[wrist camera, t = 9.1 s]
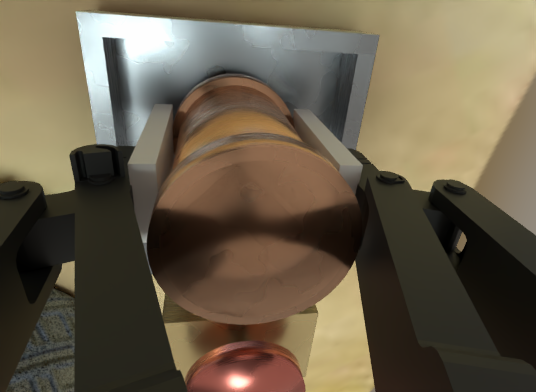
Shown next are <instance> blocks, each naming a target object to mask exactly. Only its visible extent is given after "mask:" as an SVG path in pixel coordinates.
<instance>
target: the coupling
mask: <svg viewBox="0 0 536 392" xmlns="http://www.w3.org/2000/svg"><path fill="white" fill-rule="evenodd" d="M173 147H174V155H175V158H174V163H173V169H172V172H171V173H170V174H169V175H168V177H167V178H166V180H165V181H164V183H163V184H162V186H161V188H160V190H159V192H158V194H157V197H156V200H155V203H154V207H153V211H152V215H151V219H150V223H149V227H148V234H147V256H148V261H149V265H150V268H151V271H152V273H153V276H154V277H155V279H156V281H157V283H158V284H159V286H160V287H161V288H162V290H163V291H164V292H165V293H166V294H167V295H168V296H169V297H170V298H171V299H172V300H173V301H174V302H175V303H177V304H178V305H179V306H181V307H182V308H184V309H185V310H187V311H189V312H191V313H193V314H195V315H197V316H200V317H202V318H205V319H208V320H212V321H216V322H221V323H227V324H238V325H248V324H260V323H267V322H272V321H277V320H280V319H283V318H287V317H290V316H292V315H294V314H297V313H299V312H301V311H303V310H305V309H307V308H309V307H311V306H313V305H314V304H316V303H317V302H319V301H320V300H322V299H323V298H324V297H325V296H327V295H328V294H329V293H330V292H331V291H332V290H333V289H334V288H335V287H336V286H337V285H338V284H339V283H340V282H341V281H342V280H343V278H344V277H345V276H346V274H347V273H348V271H349V270H350V268H351V267H352V265H353V263H354V261H355V258H356V256H357V254H358V250H359V247H360V244H361V238H362V216H361V211H360V207H359V204H358V201H357V199H356V197H355V195H354V193H353V191H352V189H351V188H350V186H349V185H348V184H347V182H346V181H345V180H344V178H343V177H342V176H341V174H340V173H339V172H338V171H337V169H336V168H335V167H334V165H333V164H332V163H331V162H330V161H329V160H328V159H327V158H326V157H325V156H324V155H323V154H321V153H320V152H319V151H317V150H316V149H315V148H313V147H311V146H310V145H308V144H306V143H304V142H303V141H302V139H301V138H300V136H299V135H298V133H297V132H296V131H295V127H294V122H293V119H292V116H291V113H290V111H289V109H288V108H287V106H286V104H285V103H284V102H283V100H282V99H281V98H280V96H279V95H278V94H277V93H276V92H275V91H274V90H273V89H272V88H271V87H270V86H268V85H267V84H266V83H264V82H262V81H261V80H259V79H256V78H254V77H251V76H248V75H244V74H222V75H217V76H214V77H211V78H208V79H206V80H204V81H202V82H201V83H199V84H198V85H196V86H195V87H194V88H193V89H191V90H190V91H189V92H188V94H187V95H186V96H185V97H184V99H183V100H182V102H181V103H180V105H179V107H178V109H177V112H176V115H175V119H174V123H173Z"/></svg>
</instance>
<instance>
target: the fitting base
mask: <svg viewBox="0 0 536 392" xmlns="http://www.w3.org/2000/svg"><path fill="white" fill-rule="evenodd" d="M76 16H77V23H78V29H79V35H80V41H81V48H82V54H83V60H84V66H85V73H86V79H87V85H88V91H89V98H90V104H91V110H92V116H93V122H94V129H95V135H96V141H97V144H107V145H114V146H136V144H137V142H138V140H139V138H140V135H141V133H142V131H143V129H144V127H145V124H146V122H147V120H148V118H149V116H150V114H151V111H152V109H153V107H154V105H155V104H173V121H174V119H175V115H176V112H177V109H178V107H179V105H180V103H181V102H182V100H183V99H184V97H185V96H186V95H187V94H188V92H189V91H190V90H191V89H193V88H194V87H195V86H196V85H198V84H199V83H201V82H202V81H204V80H206V79H208V78H211V77H214V76H217V75H222V74H244V75H248V76H251V77H254V78H256V79H259V80H261V81H262V82H264V83H266V84H267V85H268V86H270V87H271V88H272V89H273V90H274V91H275V92H276V93H277V94H278V95H279V96H280V98H281V99H282V100H283V102H284V103H285V104H286V106H287V108H288V109H289V111H290V113H291V116H292V119H293V112H294V109H309V110H310V111H311V112H312V113H313V114H314V115H315V116H316V117H317V118H318V119H319V120H320V121H321V122H322V123H323V124H324V125H325V126H326V127H327V128H328V129H329V130H330V132H331V133H332V134H333V135H334V136H335V137H336V138H337V139H338V140H339V141H340V142H341V143H342V144H343V145H344V146H345V147H346V148H352V149H354V150H356V146H357V141H358V136H359V132H360V127H361V122H362V117H363V112H364V107H365V103H366V98H367V93H368V88H369V83H370V79H371V74H372V69H373V64H374V59H375V54H376V50H377V45H378V40H379V35H377V34H372V33H367V32H362V31H350V30H337V29H324V28H312V27H299V26H286V25H273V24H261V23H248V22H235V21H222V20H210V19H197V18H184V17H172V16H159V15H146V14H133V13H121V12H108V11H95V10H87V11H77V12H76ZM143 245H144V249H145V253H146V257H147V260H148V256H147V243H143ZM148 264H149V261H148ZM149 268H150V265H149ZM150 272H151V274H153V273H152V271H151V268H150ZM162 317H163V321H164V325H165V329H166V332H167V336H168V340H169V344H170V348H171V351H172V355H173V359H174V363H175V366H176V369H177V370H180V371H181V373H182V375H183V378H184V381H185V384H186V387H187V391H188V392H305V384H304V380H303V377H305V376H306V371H307V367H308V362H309V357H310V352H311V347H312V342H313V337H314V332H315V327H316V322H317V317H318V311H317V308H316V305H315V304H314V305H313V306H311V307H309V308H307V309H305V310H303V311H301V312H299V313H297V314H294V315H292V316H290V317H287V318H283V319H280V320H277V321H272V322H267V323H260V324H248V325H238V324H227V323H221V322H216V321H212V320H208V319H205V318H202V317H200V316H197V315H195V314H193V313H191V312H189V311H187V310H185V309H184V308H182V307H181V306H179V305H178V304H177V303H175V302H174V301H173V300H172V299H171V298H170V297H169V296H168V295H167V294H166V293H165V299H164V307H163V315H162Z"/></svg>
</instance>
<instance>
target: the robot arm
mask: <svg viewBox="0 0 536 392" xmlns="http://www.w3.org/2000/svg"><path fill="white" fill-rule="evenodd" d="M293 122H294V127H295V131H296V132H297V133H298V135H299V136H300V138H301V139H302V141H303V142H304V143H306V144H308V145H310V146H311V147H313V148H315V149H316V150H317V151H319V152H320V153H321V154H323V155H324V156H325V157H326V158H327V159H328V160H329V161H330V162H331V163H332V164H333V165H334V167H335V168H336V169H337V171H338V172H339V173H340V174H341V176H342V177H343V178H344V180H345V181H346V182H347V184H348V185H349V186H350V188H351V189H352V191H353V193H354V195H355V197H356V199H357V201H358V204H359V207H360V211H361V216H362V238H361V244H360V247H359V250H358V254H357V256H356V258H355V261H356V268H357V274H358V281H359V287H360V294H361V300H362V307H363V313H364V320H365V326H366V333H367V339H368V346H369V352H370V359H371V365H372V372H373V378H374V385H375V391H376V392H536V236H535V235H534V234H533V233H532V232H530V231H529V230H527V229H526V228H525V227H524V226H522V225H521V224H520V223H518V222H517V221H516V220H514V219H513V218H511V217H510V216H509V215H508V214H506V213H505V212H504V211H502V210H501V209H500V208H498V207H497V206H496V205H494V204H493V203H491V202H490V201H489V200H487V199H486V198H485V197H483V196H482V195H481V194H479V193H478V192H477V191H475V190H474V189H473V188H471V187H469V186H467V185H465V184H463V183H461V182H460V181H455V180H437V181H435V182H434V183H433V186H432V189H431V192H425V191H418V190H412V188H411V186H410V184H409V182H408V181H407V180H406V179H405V178H404V177H402V176H400V175H397V174H395V173H392V172H388V171H379V170H378V169H377V168H376V167H375V166H374V165H373V164H371V162H370V161H369V160H367V158H366V157H365V156H364V155H363V154H362V153H360V152H358V151H356V150H354V149H352V148H346V147H345V146H344V145H343V144H342V143H341V142H340V141H339V140H338V139H337V138H336V137H335V136H334V135H333V134H332V133H331V132H330V130H329V129H328V128H327V127H326V126H325V125H324V124H323V123H322V122H321V121H320V120H319V119H318V118H317V117H316V116H315V115H314V114H313V113H312V112H311V111H310V110H309V109H294V112H293ZM173 123H174V121H173V104H155V105H154V107H153V109H152V111H151V114H150V116H149V118H148V120H147V122H146V124H145V127H144V129H143V131H142V133H141V135H140V138H139V140H138V142H137V144H136V146H114V145H107V144H94V145H87V146H83V147H80V148H77V149H75V150H73V151H71V153H70V160H71V165H72V170H73V175H74V180H75V190H72V191H69V192H64V193H58V194H52V195H44V191H43V187H42V186H41V185H40V184H38V183H35V182H30V181H18V182H17V181H10V182H8V183H7V182H6V183H2V184H0V392H6V390H7V388H8V385H9V383H10V381H11V379H12V377H13V374H14V372H15V370H16V368H17V366H18V363H19V361H20V359H21V357H22V355H23V353H24V350H25V348H26V346H27V344H28V342H29V339H30V337H31V335H32V333H33V331H34V329H35V326H36V324H37V322H38V320H39V318H40V315H41V313H42V311H43V309H44V307H45V304H46V302H47V300H48V298H49V296H50V294H51V291H52V289H53V287H54V285H55V283H56V280H57V278H58V276H59V274H60V272H61V269H62V263H67V262H71V261H75V363H74V392H188V391H187V387H186V384H185V381H184V378H183V375H182V373H181V371H180V370H177V369H176V366H175V363H174V359H173V355H172V351H171V348H170V344H169V340H168V336H167V332H166V329H165V325H164V321H163V317H162V313H161V310H160V306H159V302H158V298H157V294H156V291H155V287H154V283H153V279H152V275H151V272H150V268H149V264H148V260H147V257H146V253H145V249H144V245H143V243H147V234H148V227H149V223H150V219H151V215H152V211H153V207H154V203H155V200H156V197H157V194H158V192H159V190H160V188H161V186H162V184H163V183H164V181H165V180H166V178H167V177H168V175H169V174H170V173H171V172H172V169H173V163H174V158H175V155H174V147H173ZM462 232H463V233H464V234H465V236H466V239H467V242H466V244H465V247H464V249H463V250H462V252H461V251H459V250H458V249H457V247H456V246H457V243H458V241H459V239H460V236H461V233H462Z"/></svg>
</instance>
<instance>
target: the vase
mask: <svg viewBox="0 0 536 392" xmlns="http://www.w3.org/2000/svg"><path fill="white" fill-rule="evenodd" d="M74 363H75V299H74V298H73V297H71V296H69V295H67V294H66V293H63V292H61V291H59V290H57V289H54V288H53V289H52V291H51V294H50V296H49V298H48V300H47V302H46V304H45V307H44V309H43V311H42V313H41V315H40V318H39V320H38V322H37V324H36V326H35V329H34V331H33V333H32V335H31V337H30V339H29V342H28V344H27V346H26V348H25V350H24V353H23V355H22V357H21V359H20V361H19V363H18V366H17V368H16V370H15V372H14V374H13V377H12V379H11V381H10V383H9V385H8V388H7V390H6V392H74Z"/></svg>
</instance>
